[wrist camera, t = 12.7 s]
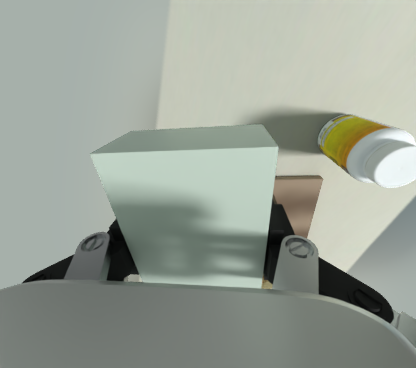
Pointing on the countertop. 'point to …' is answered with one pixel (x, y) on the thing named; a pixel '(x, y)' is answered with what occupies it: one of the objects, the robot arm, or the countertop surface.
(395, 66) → the countertop surface
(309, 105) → the countertop surface
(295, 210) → the base
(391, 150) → the supplement bottle
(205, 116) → the countertop surface
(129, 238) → the mint green block
